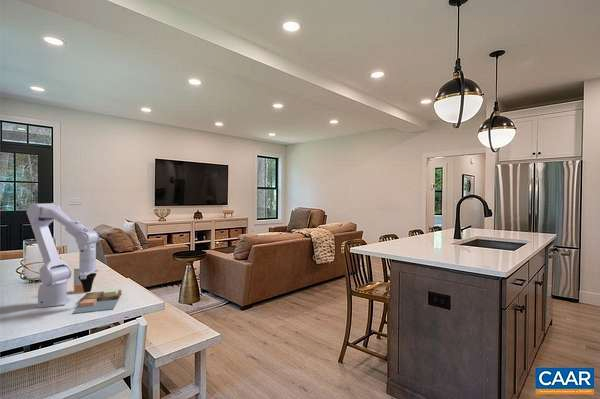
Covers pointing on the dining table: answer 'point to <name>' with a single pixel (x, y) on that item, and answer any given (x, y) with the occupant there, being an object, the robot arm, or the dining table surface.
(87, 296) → the riser
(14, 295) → the dining table surface
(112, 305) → the mat
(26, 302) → the dining table surface
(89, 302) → the tile terracotta
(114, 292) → the tile sage
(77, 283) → the skincare box
